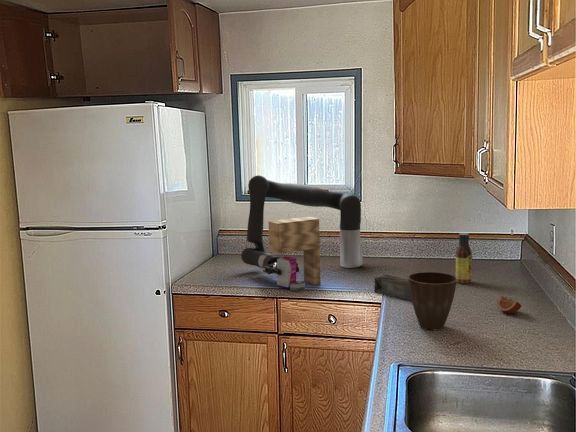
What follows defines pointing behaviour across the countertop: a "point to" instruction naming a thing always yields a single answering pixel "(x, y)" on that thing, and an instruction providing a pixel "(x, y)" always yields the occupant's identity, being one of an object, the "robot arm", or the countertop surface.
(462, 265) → the sauce bottle
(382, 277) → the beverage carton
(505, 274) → the countertop surface
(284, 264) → the supplement box
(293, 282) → the dark gray cylinder
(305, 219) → the wooden l-shaped block
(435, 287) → the plant pot
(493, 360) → the countertop surface
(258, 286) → the countertop surface
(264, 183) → the robot arm
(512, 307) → the fruit slice
